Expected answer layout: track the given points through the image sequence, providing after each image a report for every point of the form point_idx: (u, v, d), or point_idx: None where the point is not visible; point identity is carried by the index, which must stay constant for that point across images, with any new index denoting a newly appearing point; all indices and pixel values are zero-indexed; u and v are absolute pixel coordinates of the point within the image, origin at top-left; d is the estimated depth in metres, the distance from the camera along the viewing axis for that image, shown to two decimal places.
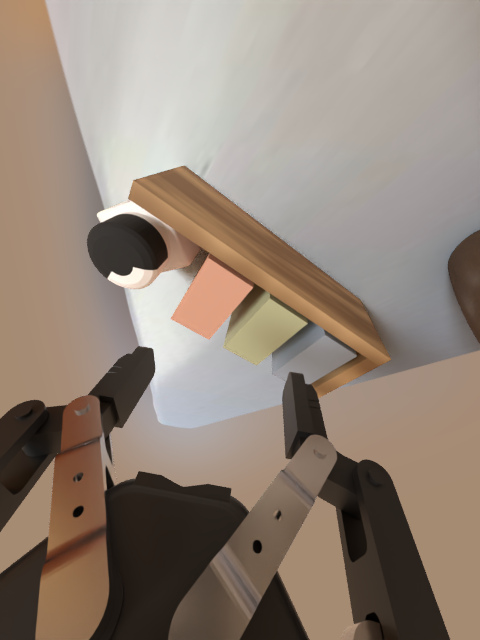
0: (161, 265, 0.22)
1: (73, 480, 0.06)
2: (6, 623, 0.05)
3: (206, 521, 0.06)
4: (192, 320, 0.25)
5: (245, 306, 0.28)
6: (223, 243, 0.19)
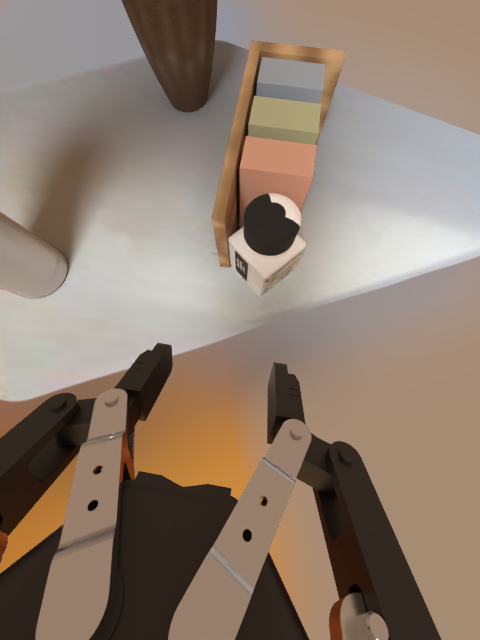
0: None
1: (93, 472, 0.07)
2: (6, 623, 0.05)
3: (206, 521, 0.06)
4: (303, 162, 0.27)
5: None
6: (224, 162, 0.27)
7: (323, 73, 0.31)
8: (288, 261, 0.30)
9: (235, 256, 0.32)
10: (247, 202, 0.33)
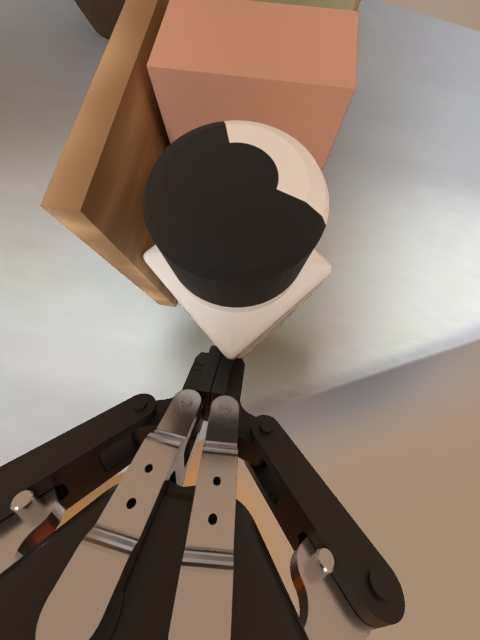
0: None
1: (145, 468, 0.07)
2: (6, 623, 0.05)
3: None
4: (325, 50, 0.10)
5: None
6: (106, 52, 0.10)
7: None
8: (288, 310, 0.12)
9: None
10: None
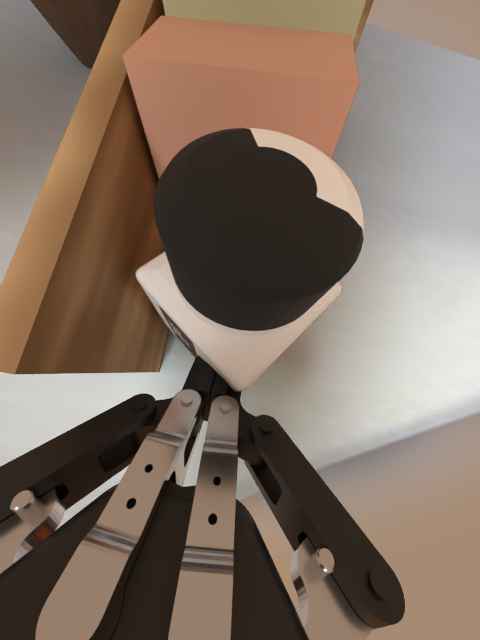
0: None
1: (144, 468, 0.07)
2: (6, 623, 0.05)
3: None
4: (321, 55, 0.09)
5: None
6: (59, 154, 0.08)
7: None
8: None
9: (164, 315, 0.13)
10: None
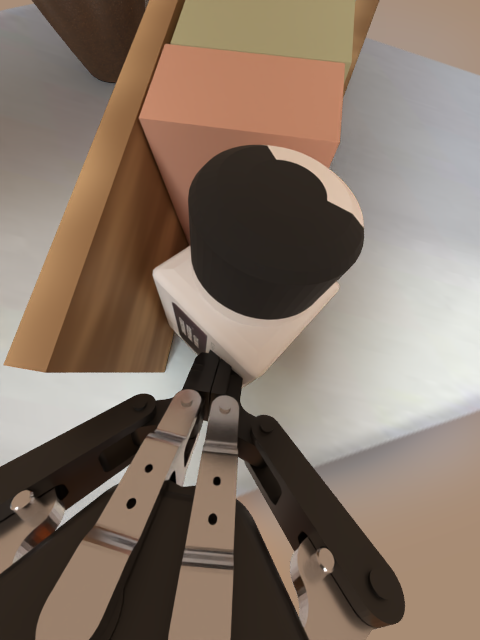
0: None
1: (145, 468, 0.07)
2: (6, 623, 0.05)
3: None
4: (311, 103, 0.10)
5: None
6: (82, 174, 0.09)
7: None
8: None
9: (175, 313, 0.13)
10: None
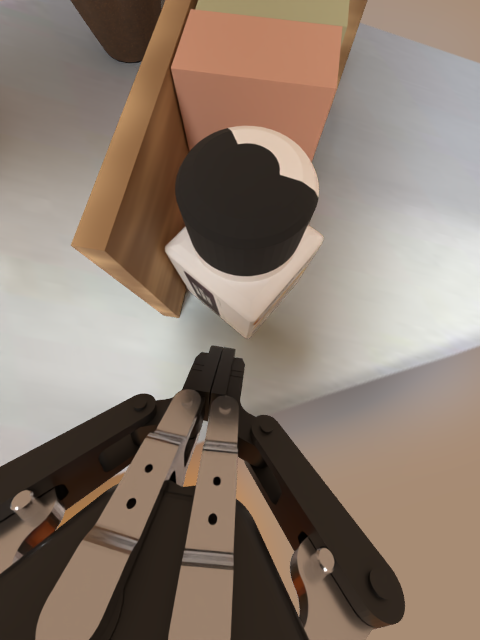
0: None
1: (145, 468, 0.07)
2: (6, 623, 0.05)
3: None
4: (314, 58, 0.12)
5: None
6: (125, 108, 0.11)
7: None
8: (293, 277, 0.15)
9: (188, 279, 0.17)
10: None
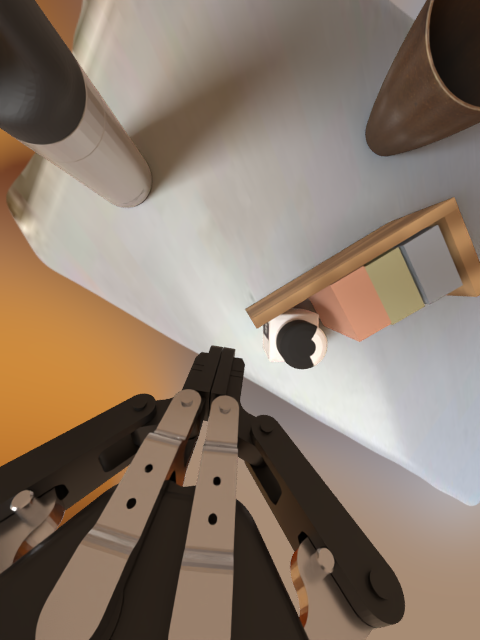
0: None
1: (145, 468, 0.07)
2: (6, 623, 0.05)
3: None
4: (368, 325, 0.30)
5: None
6: (303, 288, 0.29)
7: (450, 290, 0.30)
8: None
9: (267, 322, 0.37)
10: None
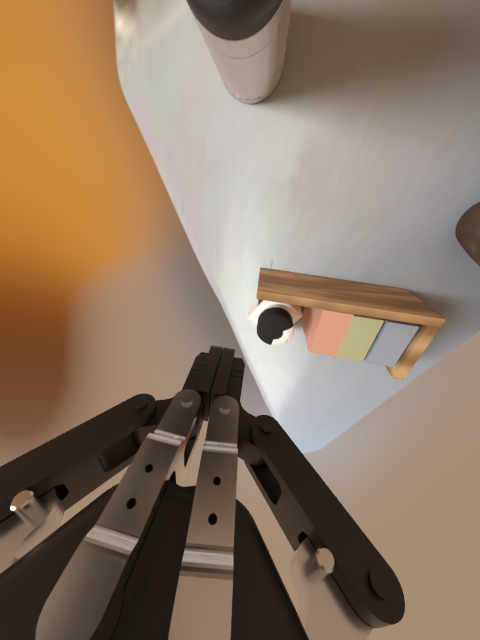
0: (293, 323, 0.40)
1: (144, 468, 0.07)
2: (6, 623, 0.05)
3: None
4: (322, 347, 0.41)
5: None
6: (306, 298, 0.36)
7: (383, 365, 0.41)
8: None
9: None
10: None
